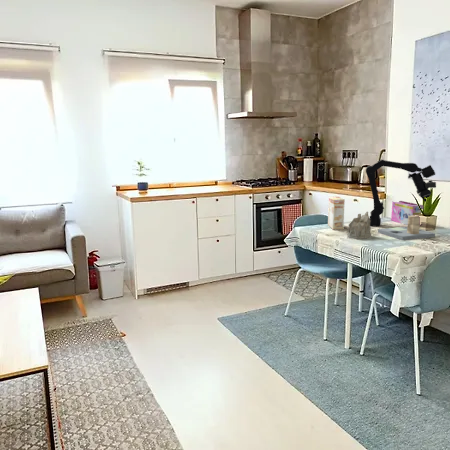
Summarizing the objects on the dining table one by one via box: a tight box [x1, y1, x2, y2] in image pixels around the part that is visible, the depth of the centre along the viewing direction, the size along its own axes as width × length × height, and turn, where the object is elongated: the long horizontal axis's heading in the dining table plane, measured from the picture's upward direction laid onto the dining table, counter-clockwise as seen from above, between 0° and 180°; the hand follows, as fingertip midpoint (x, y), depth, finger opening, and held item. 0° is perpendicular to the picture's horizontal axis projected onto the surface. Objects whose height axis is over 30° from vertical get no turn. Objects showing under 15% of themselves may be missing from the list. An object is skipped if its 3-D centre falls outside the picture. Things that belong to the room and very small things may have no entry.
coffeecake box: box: [327, 196, 346, 231], centre depth 274 cm, size 15×7×20 cm, turn 179°
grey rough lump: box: [346, 211, 372, 240], centre depth 250 cm, size 16×16×15 cm
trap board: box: [377, 226, 436, 241], centre depth 252 cm, size 22×22×2 cm
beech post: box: [406, 215, 421, 234], centre depth 245 cm, size 4×4×10 cm
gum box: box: [390, 200, 424, 226], centre depth 286 cm, size 24×8×14 cm, turn 14°
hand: (428, 203), depth 268 cm, fingers open, 9 cm apart
